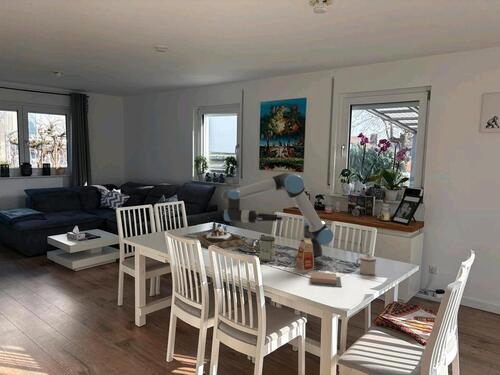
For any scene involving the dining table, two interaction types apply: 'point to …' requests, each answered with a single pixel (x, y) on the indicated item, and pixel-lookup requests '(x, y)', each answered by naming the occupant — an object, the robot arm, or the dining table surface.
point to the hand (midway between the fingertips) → (287, 218)
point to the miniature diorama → (218, 234)
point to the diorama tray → (237, 242)
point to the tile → (323, 278)
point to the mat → (329, 284)
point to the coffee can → (267, 248)
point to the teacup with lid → (367, 264)
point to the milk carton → (305, 255)
